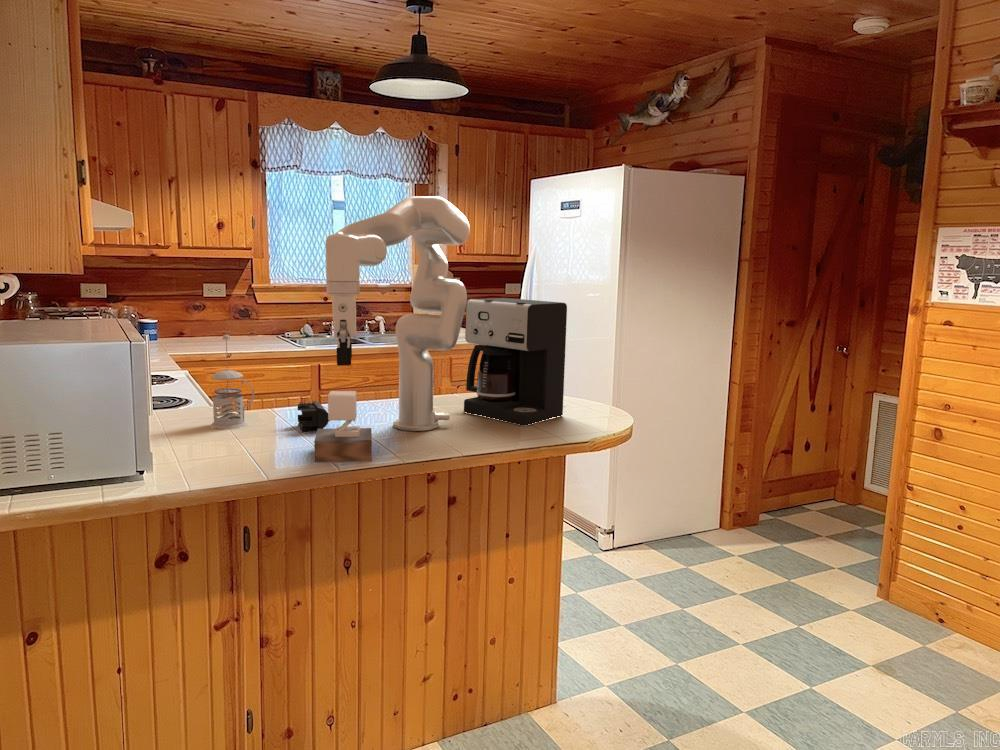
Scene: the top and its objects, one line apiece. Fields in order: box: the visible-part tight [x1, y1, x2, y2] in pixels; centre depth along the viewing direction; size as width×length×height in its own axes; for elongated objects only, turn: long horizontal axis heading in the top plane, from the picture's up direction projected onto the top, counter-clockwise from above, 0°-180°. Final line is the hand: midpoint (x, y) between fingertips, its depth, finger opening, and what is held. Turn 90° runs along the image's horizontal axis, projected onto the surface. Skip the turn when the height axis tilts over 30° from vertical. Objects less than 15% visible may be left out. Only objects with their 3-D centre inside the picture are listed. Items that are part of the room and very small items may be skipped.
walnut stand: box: [314, 427, 373, 463], centre depth 180 cm, size 13×12×5 cm
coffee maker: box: [463, 297, 568, 426], centre depth 228 cm, size 28×20×35 cm
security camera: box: [327, 390, 361, 437], centre depth 179 cm, size 6×7×10 cm
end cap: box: [297, 400, 330, 433], centre depth 205 cm, size 10×7×7 cm
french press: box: [210, 334, 255, 430], centre depth 205 cm, size 10×12×25 cm
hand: (344, 361), depth 177 cm, fingers open, 9 cm apart
